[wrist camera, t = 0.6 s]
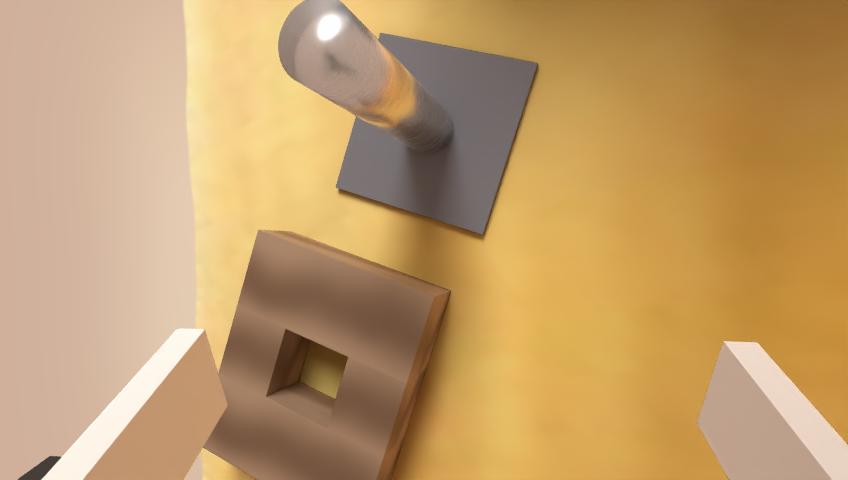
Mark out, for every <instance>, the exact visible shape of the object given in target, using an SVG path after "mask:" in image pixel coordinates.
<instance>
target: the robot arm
mask: <svg viewBox="0 0 848 480" xmlns="http://www.w3.org/2000/svg"><path fill="white" fill-rule="evenodd" d="M227 406H228V404H227V401H226V398H225V395H224V391H223V388H222V385H221V381H220V378H219V375H218V371H217V368H216V365H215V361H214V358H213V355H212V352H211V348H210V345H209V342H208V338H207V335H206V332H205V329H177V330H176V331H175V332H174V333H173V334H172V335H171V336H170V337H169V338H168V340H167V341H166V342H165V343H164V344H163V345H162V346H161V347H160V348H159V350H158V351H157V352H156V353H155V354H154V355H153V356H152V357H151V358H150V360H149V361H148V362H147V363H146V364H145V365H144V366H143V367H142V368H141V370H140V371H139V372H138V373H137V374H136V375H135V376H134V377H133V379H132V380H131V381H130V382H129V383H128V384H127V385H126V387H124V389H123V390H122V391H121V392H120V393H119V394H118V395H117V396H116V397H115V398H114V400H113V401H112V402H111V403H110V404H109V405H108V406H107V408H106V409H105V410H104V411H103V412H102V413H101V414H100V415H99V417H97V419H96V420H95V421H94V422H93V423H92V424H91V425H90V426H89V428H88V429H87V430H86V431H85V432H84V433H83V434H82V435H81V436H80V437H79V439H78V440H77V441H76V442H75V443H74V444H73V445H72V446H71V447H70V449H69V450H68V451H67V452H66V453H65V454H64V455H63V456H62V457H57V456H50V457H48V458H47V459H45V460H44V461H42V462H41V463H40V464H38V465H37V466H36V467H34V468H33V469H31V470H30V471H29V472H27V473H26V474H24V475H23V476H22V477H20V478H19V479H18V480H184V478H185V476H186V474H187V473H188V471H189V469H190V468H191V466H192V464H193V463H194V461H195V459H196V458H197V456H198V454H199V453H200V451H201V449H202V448H203V446H204V444H205V443H206V441H207V439H208V438H209V436H210V434H211V433H212V431H213V429H214V428H215V426H216V424H217V423H218V421H219V419H220V418H221V416H222V414H223V413H224V411H225V409H226V408H227ZM697 424H698V426H699V428H700V429H701V431H702V433H703V435H704V436H705V438H706V440H707V442H708V443H709V445H710V447H711V449H712V451H713V452H714V454H715V456H716V458H717V459H718V461H719V463H720V465H721V467H722V468H723V470H724V472H725V474H726V475H727V477H728V479H729V480H848V445H847V444H846V442H845V441H844V440H843V439H842V438H841V437H840V436H839V434H838V433H837V432H836V431H835V430H834V429H833V428H832V427H831V425H830V424H829V423H828V422H827V421H826V420H825V419H824V417H823V416H822V415H821V414H820V413H819V412H818V411H817V410H816V408H815V407H814V406H813V405H812V404H811V403H810V402H809V401H808V399H807V398H806V397H805V396H804V395H803V394H802V393H801V391H800V390H799V389H798V388H797V387H796V386H795V385H794V384H793V382H792V381H791V380H790V379H789V378H788V377H787V376H786V374H785V373H784V372H783V371H782V370H781V369H780V368H779V367H778V365H777V364H776V363H775V362H774V361H773V360H772V359H771V357H770V356H769V355H768V354H767V353H766V352H765V351H764V350H763V348H762V347H761V346H760V345H759V344H758V343H757V342H728V341H723V345H722V348H721V351H720V354H719V357H718V360H717V363H716V366H715V369H714V372H713V375H712V378H711V381H710V385H709V388H708V391H707V394H706V397H705V400H704V403H703V406H702V409H701V412H700V415H699V418H698V421H697Z"/></svg>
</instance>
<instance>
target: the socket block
mask: <svg viewBox="0 0 848 480" xmlns="http://www.w3.org/2000/svg"><path fill="white" fill-rule="evenodd" d="M450 292H451V291H450V290H447V289H444V288H442V287H439V286H436V285H434V284H431V283H428V282H426V281H423V280H420V279H417V278H415V277H412V276H409V275H407V274H404V273H401V272H399V271H396V270H393V269H390V268H388V267H385V266H382V265H380V264H377V263H374V262H372V261H369V260H366V259H364V258H361V257H358V256H355V255H353V254H350V253H347V252H345V251H342V250H339V249H337V248H334V247H331V246H328V245H326V244H323V243H320V242H318V241H315V240H312V239H310V238H307V237H304V236H301V235H299V234H296V233H293V232H288V231H269V230H258V233H257V236H256V240H255V244H254V247H253V251H252V255H251V258H250V262H249V265H248V269H247V273H246V276H245V280H244V283H243V287H242V291H241V294H240V298H239V301H238V305H237V309H236V312H235V316H234V319H233V323H232V327H231V330H230V334H229V338H228V341H227V345H226V348H225V352H224V356H223V359H222V363H221V366H220V370H219V374H218V375H219V378H220V381H221V385H222V388H223V391H224V395H225V398H226V401H227V404H228V406H227V408H226V409H225V411H224V413H223V414H222V416H221V418H220V419H219V421H218V423H217V424H216V426H215V428H214V429H213V431H212V433H211V434H210V436H209V438H208V439H207V441H206V443H205V444H204V446H203V448H205V449H206V450H208V451H210V452H211V453H213V454H215V455H216V456H218V457H220V458H222V459H223V460H225V461H227V462H228V463H230V464H232V465H233V466H235V467H237V468H238V469H240V470H242V471H243V472H245V473H247V474H249V475H250V476H252V477H254V478H255V479H257V480H391V478H392V475H393V471H394V468H395V465H396V462H397V459H398V456H399V453H400V449H401V446H402V443H403V440H404V437H405V434H406V431H407V427H408V424H409V421H410V418H411V415H412V412H413V409H414V405H415V402H416V399H417V396H418V393H419V390H420V387H421V383H422V380H423V377H424V374H425V371H426V368H427V365H428V361H429V358H430V355H431V352H432V349H433V346H434V343H435V339H436V336H437V333H438V330H439V327H440V324H441V321H442V317H443V314H444V311H445V308H446V305H447V302H448V298H449V295H450ZM310 340H312V341H314V342H316V343H318V344H321V345H323V346H325V347H327V348H329V349H332V350H334V351H336V352H338V353H340V354H343V355H345V356H347V357H348V360H347V363H346V366H345V370H344V373H343V376H342V379H341V383H340V386H339V389H338V393H337V396H336V399H333V398H331V397H329V396H327V395H325V394H323V393H321V392H319V391H317V390H315V389H313V388H311V387H309V386H307V385H305V384H303V383H301V382H299V377H300V374H301V370H302V367H303V364H304V360H305V357H306V353H307V350H308V347H309V343H310Z"/></svg>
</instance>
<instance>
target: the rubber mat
mask: <svg viewBox="0 0 848 480" xmlns="http://www.w3.org/2000/svg"><path fill="white" fill-rule="evenodd" d="M378 40H379V41H380V42H381V43H382V44H383V45H384V46H385V47H386V48H387V49H388V50H389V51H390V53H391V54H392V55H393V56H394V57H395V58H396V59H397V60H398V61H399V62H400V63H401V64H402V65H403V66H404V67H405V68H406V69H407V70H408V71H409V72H410V73H411V74H412V75H413V76H414V77H415V78H416V79H417V80H418V81H419V82H420V84H421V85H422V86H423V87H424V88H425V89H426V90H427V91H428V92H429V93H430V94H431V95H432V96H433V97H434V98H435V99H436V100H437V101H438V102H439V103H440V104H441V105H442V106H443V107H444V108H445V109H446V110H447V111H448V113H449V114H450V116H451V118H452V120H453V126H454V129H453V135H452V138H451V140H450V142H449V143H448V145H447V146H446V147H445V148H444V149H443V150H441V151H440V152H438V153H435V154H431V155H425V154H421V153H418V152H416V151H415V150H413V149H411V148H410V147H408V146H406V145H404V144H403V143H401V142H399V141H398V140H396V139H394V138H393V137H391V136H389V135H387V134H386V133H384V132H382V131H381V130H379V129H377V128H376V127H374V126H372V125H370V124H369V123H367V122H365V121H364V120H362V119H360V118H359V117H357V116H356V119H355V122H354V126H353V129H352V133H351V136H350V139H349V143H348V146H347V150H346V153H345V157H344V160H343V164H342V167H341V171H340V174H339V177H338V181H337V184H336V188H339V189H342V190H345V191H348V192H351V193H354V194H358V195H361V196H364V197H367V198H370V199H373V200H376V201H379V202H382V203H385V204H389V205H392V206H395V207H398V208H401V209H404V210H407V211H410V212H413V213H416V214H420V215H423V216H426V217H429V218H432V219H435V220H438V221H441V222H444V223H448V224H451V225H454V226H457V227H460V228H463V229H466V230H469V231H472V232H475V233H479V234H482V235H484V232H485V229H486V226H487V222H488V219H489V216H490V213H491V210H492V207H493V204H494V201H495V197H496V194H497V191H498V188H499V185H500V182H501V179H502V176H503V173H504V169H505V166H506V163H507V160H508V157H509V154H510V151H511V148H512V144H513V141H514V138H515V135H516V132H517V129H518V126H519V123H520V120H521V116H522V113H523V110H524V107H525V104H526V101H527V98H528V95H529V92H530V88H531V85H532V82H533V79H534V76H535V73H536V70H537V67H538V63H535V62H530V61H525V60H519V59H514V58H509V57H504V56H499V55H493V54H488V53H483V52H478V51H472V50H467V49H462V48H457V47H452V46H446V45H441V44H436V43H431V42H426V41H420V40H415V39H410V38H405V37H399V36H394V35H389V34H384V33H380V36H379V39H378Z"/></svg>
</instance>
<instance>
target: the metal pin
mask: <svg viewBox="0 0 848 480" xmlns="http://www.w3.org/2000/svg"><path fill="white" fill-rule="evenodd" d="M278 51H279V57H280V61H281V64H282V66H283V68H284V70H285V71H286V72H287V74H288V75H289V76H290V77H291V78H293V79H294V80H296V81H297V82H299V83H301V84H302V85H304V86H306V87H308V88H309V89H311V90H313V91H314V92H316V93H318V94H319V95H321V96H323V97H325V98H326V99H328V100H330V101H331V102H333V103H335V104H336V105H338V106H340V107H342V108H343V109H345V110H347V111H348V112H350V113H352V114H353V115H355V116H357V117H359V118H360V119H362V120H364V121H365V122H367V123H369V124H370V125H372V126H374V127H376V128H377V129H379V130H381V131H382V132H384V133H386V134H387V135H389V136H391V137H393V138H394V139H396V140H398V141H399V142H401V143H403V144H404V145H406V146H408V147H410V148H411V149H413V150H415V151H416V152H418V153H421V154H425V155H431V154H435V153H438V152H440V151H441V150H443V149H444V148H445V147H446V146H447V145H448V143H449V142H450V140H451V138H452V135H453V129H454V126H453V120H452V118H451V116H450V114H449V113H448V111H447V110H446V109H445V108H444V107H443V106H442V105H441V104H440V103H439V102H438V101H437V100H436V99H435V98H434V97H433V96H432V95H431V94H430V93H429V92H428V91H427V90H426V89H425V88H424V87H423V86H422V85H421V84H420V82H419V81H418V80H417V79H416V78H415V77H414V76H413V75H412V74H411V73H410V72H409V71H408V70H407V69H406V68H405V67H404V66H403V65H402V64H401V63H400V62H399V61H398V60H397V59H396V58H395V57H394V56H393V55H392V54H391V53H390V51H389V50H388V49H387V48H386V47H385V46H384V45H383V44H382V43H381V42H380V41H379V40H378V39H377V38H376V37H375V36H374V35H373V34H372V33H371V32H370V31H369V30H368V29H367V28H366V27H365V26H364V25H363V24H362V23H361V21H360V20H359V19H358V18H357V17H356V16H355V15H354V14H353V13H352V12H351V11H350V10H349V9H348V8H347V7H346V6H345V5H344V4H343V3H342V2H340V1H339V0H305V1H303V2H302V3H300V4H299V5H298V6H297V7H295V8H294V9H293V11H292V12H291V13H290V14H289V15H288V17H287V18H286V20H285V22H284V24H283V26H282V29H281V32H280V36H279V43H278Z"/></svg>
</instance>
